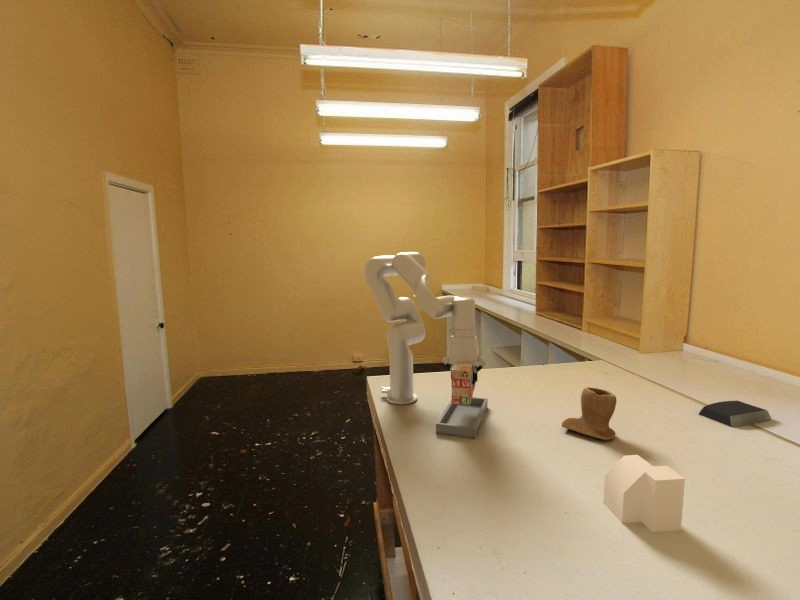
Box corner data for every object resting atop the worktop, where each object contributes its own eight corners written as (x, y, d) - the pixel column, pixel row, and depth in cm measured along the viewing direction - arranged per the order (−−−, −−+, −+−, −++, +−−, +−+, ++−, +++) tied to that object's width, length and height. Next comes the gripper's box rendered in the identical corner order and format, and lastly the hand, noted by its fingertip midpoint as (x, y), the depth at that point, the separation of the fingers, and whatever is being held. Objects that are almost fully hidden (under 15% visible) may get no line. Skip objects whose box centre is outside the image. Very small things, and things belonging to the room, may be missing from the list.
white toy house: (680, 530, 90) (684, 478, 89) (631, 533, 89) (634, 481, 88) (647, 500, 101) (651, 454, 99) (603, 503, 100) (605, 456, 98)
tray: (435, 433, 138) (435, 423, 138) (454, 403, 164) (454, 395, 164) (474, 439, 134) (474, 428, 133) (487, 407, 160) (487, 398, 159)
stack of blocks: (459, 384, 159) (458, 353, 158) (475, 385, 158) (475, 353, 156) (451, 404, 139) (451, 369, 137) (470, 406, 137) (470, 370, 136)
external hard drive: (773, 421, 145) (775, 410, 144) (733, 429, 139) (735, 418, 139) (734, 408, 157) (735, 397, 157) (696, 414, 152) (697, 404, 151)
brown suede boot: (621, 433, 136) (623, 389, 134) (608, 446, 128) (610, 399, 126) (575, 420, 147) (576, 379, 145) (560, 431, 139) (561, 388, 137)
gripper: (437, 333, 144) (437, 383, 147) (487, 336, 139) (487, 388, 141) (442, 329, 151) (442, 377, 154) (490, 332, 146) (490, 381, 148)
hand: (464, 381), depth 147 cm, fingers closed on stack of blocks, 6 cm apart
